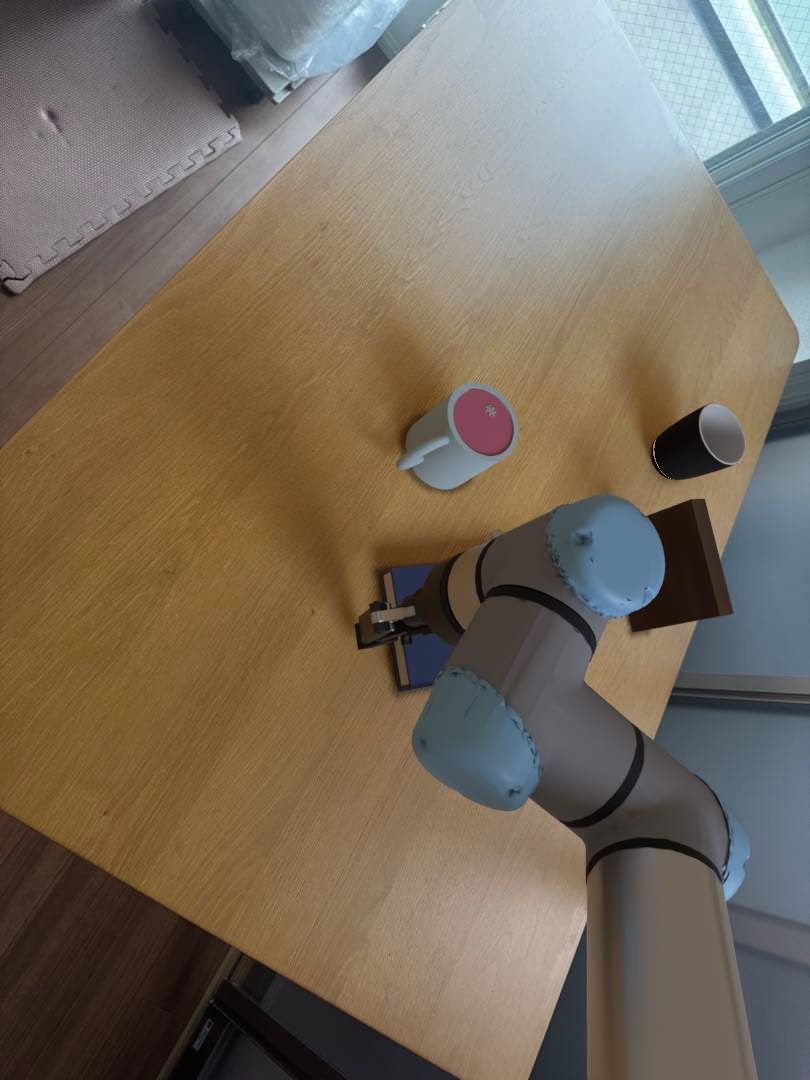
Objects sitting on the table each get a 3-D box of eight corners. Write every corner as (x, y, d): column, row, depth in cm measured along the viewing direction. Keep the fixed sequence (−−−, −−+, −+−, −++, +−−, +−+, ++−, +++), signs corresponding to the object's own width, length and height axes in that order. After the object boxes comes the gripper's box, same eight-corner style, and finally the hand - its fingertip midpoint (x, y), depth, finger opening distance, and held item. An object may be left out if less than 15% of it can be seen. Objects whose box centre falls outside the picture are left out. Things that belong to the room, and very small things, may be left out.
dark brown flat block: (632, 632, 95) (720, 615, 83) (609, 529, 98) (691, 498, 86) (645, 630, 96) (734, 613, 84) (622, 528, 99) (705, 498, 87)
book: (398, 691, 78) (411, 689, 76) (379, 573, 81) (391, 567, 78) (570, 661, 90) (586, 659, 87) (549, 558, 92) (564, 553, 89)
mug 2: (673, 500, 105) (732, 478, 96) (633, 455, 104) (689, 428, 95) (703, 450, 111) (761, 424, 102) (666, 407, 110) (722, 377, 101)
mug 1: (450, 408, 91) (494, 373, 82) (483, 475, 91) (531, 446, 82) (361, 441, 84) (400, 406, 75) (397, 513, 84) (439, 486, 75)
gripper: (543, 543, 60) (411, 596, 80) (403, 551, 54) (299, 606, 74) (561, 634, 58) (422, 664, 79) (420, 653, 52) (308, 680, 72)
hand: (362, 636), depth 76 cm, fingers closed
